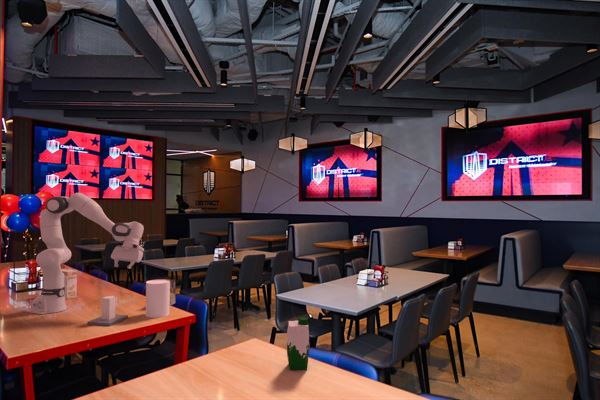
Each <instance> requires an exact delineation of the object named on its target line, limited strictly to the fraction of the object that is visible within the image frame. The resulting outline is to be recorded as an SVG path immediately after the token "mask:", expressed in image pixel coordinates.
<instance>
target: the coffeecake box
mask: <svg viewBox="0 0 600 400" xmlns="http://www.w3.org/2000/svg"><path fill="white" fill-rule="evenodd" d="M61 271H62V272H63V273H64V286H65V294H64V295H65V300H72V299H76V298H77V292H78V291H77V290H78V289H77V285H78V279H77V278H78V270H77V269H71V268H61Z"/></svg>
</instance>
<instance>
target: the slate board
mask: <svg viewBox="0 0 600 400" xmlns="http://www.w3.org/2000/svg"><path fill="white" fill-rule="evenodd" d="M101 317H102V315H101V316H98V317H96V318H93V319H91V320H88V321H87V325H91V326H103V327H111V326H113V325H115V324H118V323H120V322H122V321H124V320H126V319H128V318H129V314H116V313H115V318H113V319H110V320H104V319H101Z"/></svg>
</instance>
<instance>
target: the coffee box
mask: <svg viewBox="0 0 600 400" xmlns="http://www.w3.org/2000/svg"><path fill="white" fill-rule="evenodd" d="M168 280H169V281H170V305H169V307H171V306H173V305H174V304H176V282H177V281H176V279H168Z"/></svg>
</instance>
